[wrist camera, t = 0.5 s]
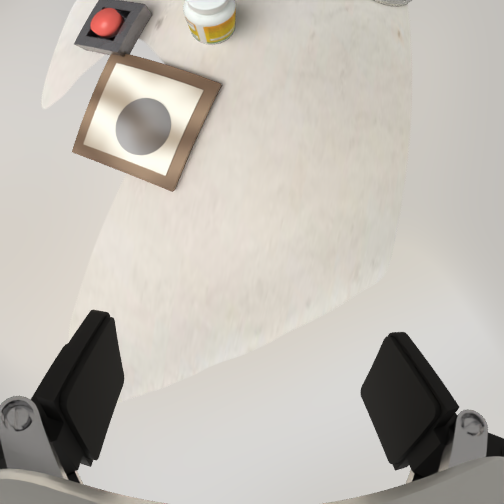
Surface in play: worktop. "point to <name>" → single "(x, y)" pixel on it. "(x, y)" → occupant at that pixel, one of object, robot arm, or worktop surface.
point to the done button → (107, 23)
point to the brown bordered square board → (145, 118)
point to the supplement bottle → (210, 19)
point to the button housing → (127, 35)
